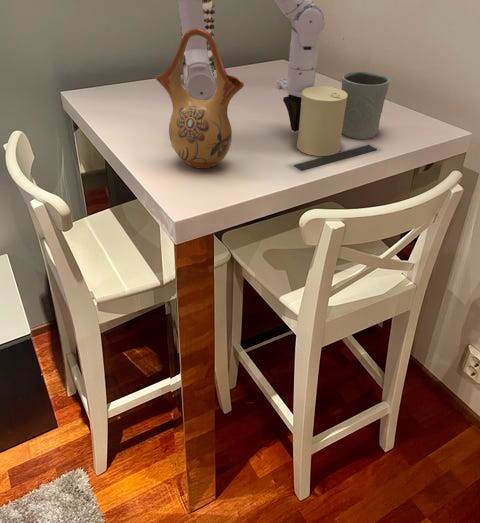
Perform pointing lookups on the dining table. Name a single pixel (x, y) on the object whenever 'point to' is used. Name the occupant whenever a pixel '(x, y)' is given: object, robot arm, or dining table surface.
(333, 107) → the can
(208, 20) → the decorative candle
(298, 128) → the robot arm
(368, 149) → the strip
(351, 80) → the embossed green cup
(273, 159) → the dining table surface
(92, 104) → the dining table surface
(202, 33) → the ceramic vessel
